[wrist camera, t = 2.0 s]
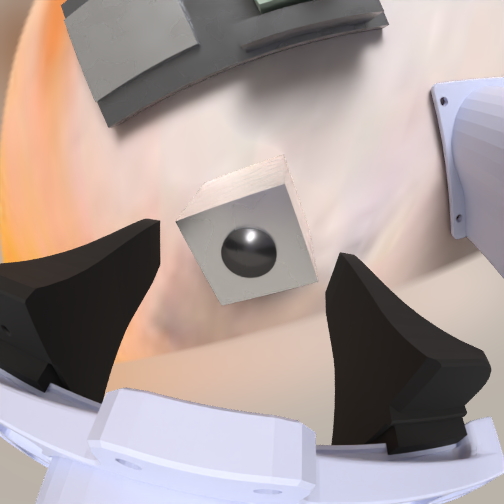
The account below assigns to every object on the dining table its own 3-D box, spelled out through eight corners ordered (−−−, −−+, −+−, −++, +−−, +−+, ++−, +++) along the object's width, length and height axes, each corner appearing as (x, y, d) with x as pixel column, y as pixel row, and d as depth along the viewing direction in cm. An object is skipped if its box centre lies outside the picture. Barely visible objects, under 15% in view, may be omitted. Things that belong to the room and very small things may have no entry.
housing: (309, 228, 17) (318, 284, 12) (236, 250, 18) (220, 308, 13) (283, 154, 15) (284, 185, 10) (204, 182, 16) (173, 223, 11)
